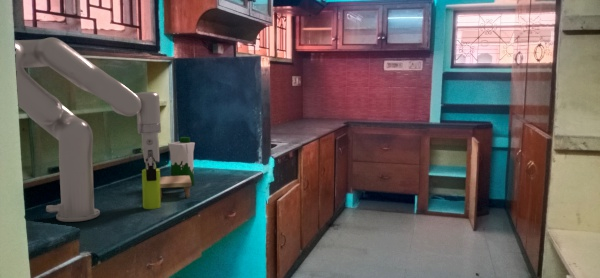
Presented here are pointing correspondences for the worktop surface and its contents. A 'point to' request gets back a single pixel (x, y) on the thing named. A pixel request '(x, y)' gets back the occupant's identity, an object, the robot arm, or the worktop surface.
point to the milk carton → (182, 158)
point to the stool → (176, 183)
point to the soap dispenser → (151, 190)
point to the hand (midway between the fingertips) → (151, 177)
